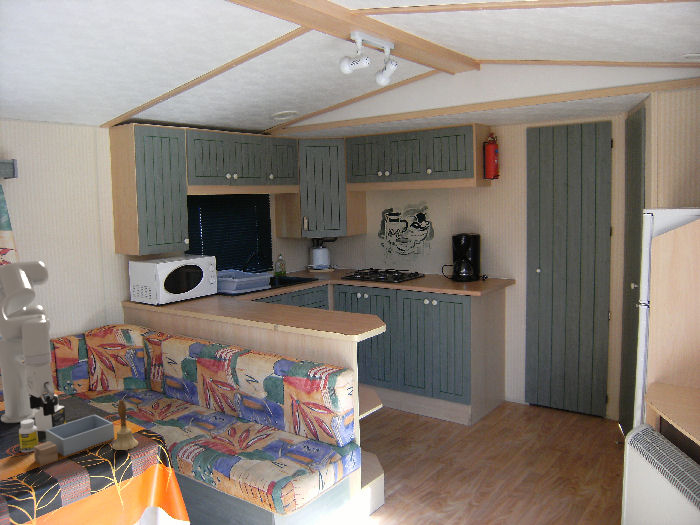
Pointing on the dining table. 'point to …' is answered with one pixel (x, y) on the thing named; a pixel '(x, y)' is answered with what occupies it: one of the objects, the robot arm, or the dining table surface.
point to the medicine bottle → (50, 416)
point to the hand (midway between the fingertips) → (42, 411)
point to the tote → (80, 434)
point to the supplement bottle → (28, 435)
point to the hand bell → (124, 432)
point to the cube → (45, 453)
